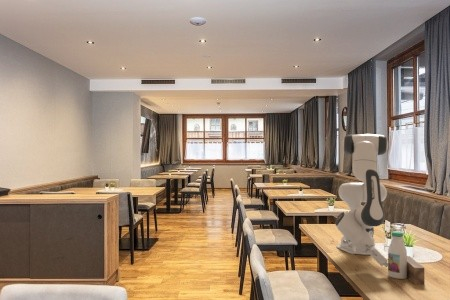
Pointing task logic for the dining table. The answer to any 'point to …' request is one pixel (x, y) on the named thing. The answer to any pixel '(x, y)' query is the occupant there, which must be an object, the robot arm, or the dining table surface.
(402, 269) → the milk bottle
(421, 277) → the walnut block
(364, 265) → the dining table surface
